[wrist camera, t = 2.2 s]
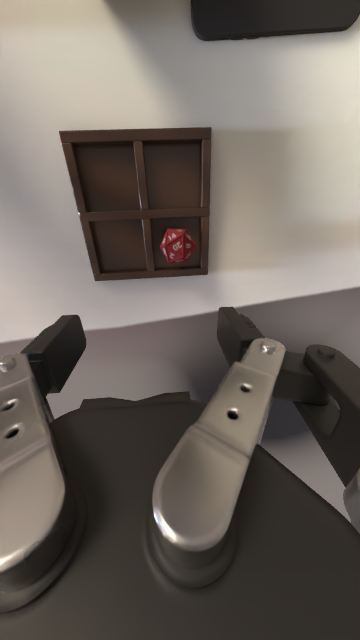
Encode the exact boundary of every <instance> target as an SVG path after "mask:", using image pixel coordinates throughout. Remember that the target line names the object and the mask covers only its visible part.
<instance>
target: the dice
mask: <svg viewBox="0 0 360 640" xmlns="http://www.w3.org/2000/svg"><path fill="white" fill-rule="evenodd" d="M195 247H196V244H195V243H194V241H193V239H192V237H191V236H190V234H189V232H188V230H187V229H168V228H167V231H166V233H165V236H164V238H163V240H162V243H161V245H160V248H161V250H162V252H163V254H164V255H165V257H166V259H167V261H168V263H187V262H188V260H189V258H190V256H191V255H192V253H193V251H194V249H195Z"/></svg>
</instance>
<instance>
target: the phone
mask: <svg viewBox="0 0 360 640" xmlns="http://www.w3.org/2000/svg"><path fill="white" fill-rule="evenodd" d="M191 12H192V25H193V30H194V32H195V34H196V36H197V37H198V38H199V39H200V40H203V41H216V40H229V39H231V40H240V39H243V38H247V39H255V38H259V37H270V36H283V35H297V34H310V33H324V32H337V31H344V30H346V29H348V28H349V27H350V26H351V25H352V24H353V23H354V22H355V21H356V20H357V18H358V16H359V14H360V0H191Z"/></svg>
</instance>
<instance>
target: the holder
mask: <svg viewBox="0 0 360 640" xmlns="http://www.w3.org/2000/svg"><path fill="white" fill-rule="evenodd" d="M59 134H60V138H61V142H62V147H63V151H64V155H65V159H66V163H67V167H68V172H69V176H70V180H71V184H72V188H73V192H74V196H75V201H76V205H77V209H78V212H79V217H80V221H81V226H82V230H83V234H84V238H85V242H86V246H87V251H88V255H89V259H90V263H91V267H92V271H93V274H94V279H95V281H108V280H125V279H141V278H158V277H175V276H192V275H207V274H208V245H209V209H210V208H209V206H210V167H211V127H206V128H163V129H119V130H75V131H59ZM167 228H168V229H187V230H188V232H189V234H190V236H191V237H192V239H193V241H194V243H195V244H196V247H195V249H194V251H193V253H192V255H191V256H190V258H189V260H188V262H187V263H168V261H167V259H166V257H165V255H164V254H163V252H162V250H161V248H160V245H161V243H162V240H163V238H164V236H165V233H166V231H167Z"/></svg>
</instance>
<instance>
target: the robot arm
mask: <svg viewBox="0 0 360 640" xmlns="http://www.w3.org/2000/svg"><path fill="white" fill-rule="evenodd" d="M217 337H218V341H219V344H220V346H221V348H222V350H223V353H224V355H225V357H226V360H227V362H228V364H229V367H230V370H229V371H228V373H227V374H226V376H225V378H224V379H223V381H222V382H221V384H220V386H219V387H218V389H217V390H216V392H215V393H214V395H213V397H212V398H211V400H210V401H209V403H208V405H207V404H205V403H202V402H199V401H195V400H190V394H189V392H177V393H164V394H160V395H157V396H153V397H149V398H146V399H142V400H139V401H131V400H124V399H117V398H97V399H84V400H83V401H82V404H81V406H80V408H79V409H77V410H74V411H71V412H68V413H67V414H64V415H62V416H60V417H59V418H57V419H55V420H54V417H53V415H52V412H51V409H50V406H49V404H48V401H47V399H46V396H47V394H49V393H60V391H61V389H62V388H63V386H64V384H65V383H66V381H67V379H68V377H69V376H70V374H71V372H72V371H73V369H74V367H75V365H76V364H77V362H78V360H79V359H80V357H81V355H82V354H83V351H84V350H85V348H86V338H85V334H84V331H83V327H82V324H81V320H80V317H79V316H78V315H63V316H61V317H60V318H59V319H58V320H57V321H56V322H55V323H54V324H53V325H51V326H49V327H48V328H46V329H44V330H43V331H42V332H41V333H40V334H39V336H37V337H36V338H35V339H34V341H32V342H31V343H30V344H29V345H28V346H26V348H24V349H23V350H22V351H21V352H20V353H16V354H10V355H6V356H4V357H1V358H0V640H360V368H359V367H358V366H357V365H355V364H354V363H353V362H352V361H351V360H350V359H348V358H347V357H346V356H345V355H344V354H342V353H341V352H340V351H338V350H336V349H334V348H331V347H328V346H324V345H310V346H308V347H307V348H306V352H305V354H302V353H294V352H288V351H286V350H285V347H284V346H283V345H282V344H281V343H279V342H277V341H275V340H272V339H266V338H265V337H264V336H263V335H262V333H261V332H260V331H259V330H258V329H257V328H256V326H255V325H254V324H253V323H252V321H251V320H250V319H249V318H248V317H246V316H244V315H242V314H240V315H239V314H238V313H237V312H236V310H235V309H234V308H233V307H220V308H219V312H218V326H217ZM331 395H332V396H333V397H334V399H335V400H336V401H337V403H338V404H339V407H340V410H339V409H338V408H337V407H336V405H335V404H334V403H333V402H332V400H331V399H330V398H331ZM273 397H275V398H280V399H285V400H290V401H293V403H294V405H295V406H296V408H297V410H298V411H299V413H300V414H301V416H302V418H303V419H304V421H305V422H306V424H307V426H308V427H309V429H310V430H311V432H312V434H313V435H314V437H315V439H316V440H317V442H318V444H319V445H320V447H321V448H322V450H323V452H324V453H325V455H326V456H327V458H328V460H329V461H330V463H331V465H332V466H333V468H334V469H335V471H336V473H337V474H338V476H339V478H340V479H341V481H342V482H343V484H344V486H345V487H346V489H345V490H344V494H343V500H344V505H345V508H346V510H347V512H348V515H349V517H350V519H351V523H350V522H349V521H348V520H347V519H346V518H345V517H344V516H343V515H342V514H341V513H340V512H339V511H337V510H336V509H335V508H334V507H333V506H331V504H329V503H328V502H327V501H326V500H325V499H323V498H322V497H321V496H320V495H319V494H317V493H316V492H315V491H314V490H312V489H311V488H310V487H309V486H308V485H307V484H305V483H304V482H303V481H302V480H301V479H299V478H298V477H297V476H296V475H295V474H293V473H292V472H291V471H290V470H289V469H287V468H286V467H285V466H284V465H283V464H281V463H280V462H279V461H278V460H277V459H276V458H274V457H273V456H272V455H271V454H269V453H268V452H267V451H266V450H265V449H264V448H262V447H261V446H260V445H259V444H260V441H261V437H262V433H263V430H264V427H265V423H266V420H267V417H268V413H269V410H270V407H271V403H272V400H273Z"/></svg>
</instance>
